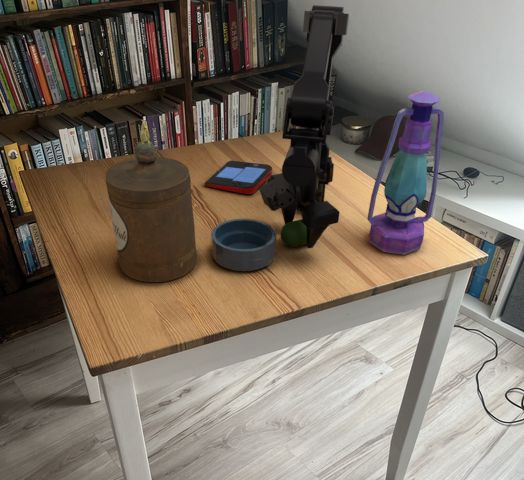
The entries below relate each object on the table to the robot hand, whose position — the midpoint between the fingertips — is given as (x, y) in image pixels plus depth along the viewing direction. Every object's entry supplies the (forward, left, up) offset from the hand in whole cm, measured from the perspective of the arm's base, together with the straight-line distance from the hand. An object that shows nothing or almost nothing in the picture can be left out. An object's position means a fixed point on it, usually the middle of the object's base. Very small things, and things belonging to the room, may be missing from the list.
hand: (298, 237), depth 115 cm
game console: (-2, -32, -2) cm, 32 cm away
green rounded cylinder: (0, 0, -1) cm, 1 cm away
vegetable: (+23, -24, -2) cm, 34 cm away
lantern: (-19, +8, -2) cm, 20 cm away
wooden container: (+28, -5, -2) cm, 29 cm away
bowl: (+12, 0, -1) cm, 13 cm away
